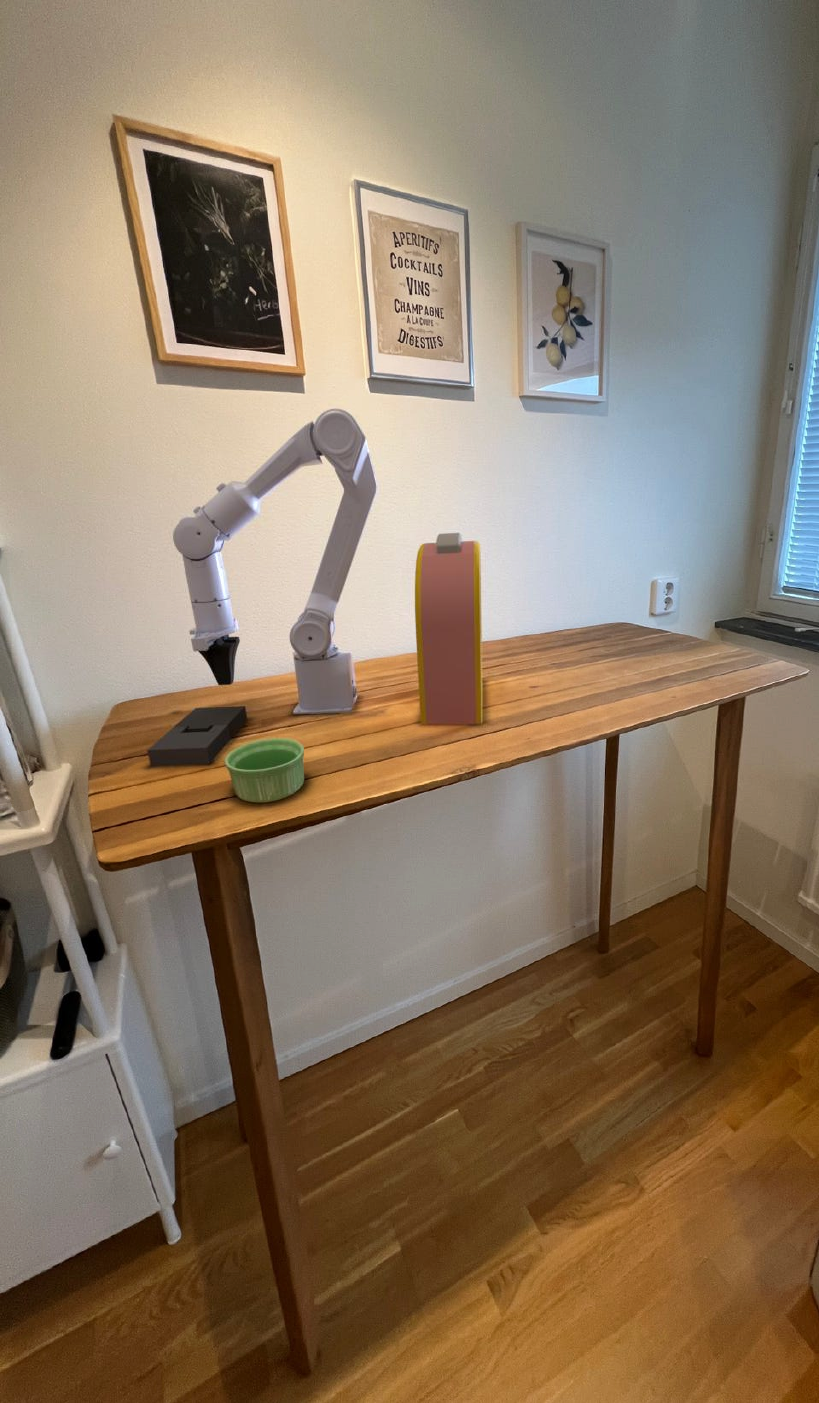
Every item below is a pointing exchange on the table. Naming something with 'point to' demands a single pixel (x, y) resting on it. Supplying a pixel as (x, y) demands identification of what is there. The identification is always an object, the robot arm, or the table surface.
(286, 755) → the ramekin
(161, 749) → the charcoal pad
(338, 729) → the table surface
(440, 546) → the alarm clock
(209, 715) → the black pad
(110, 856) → the table surface
